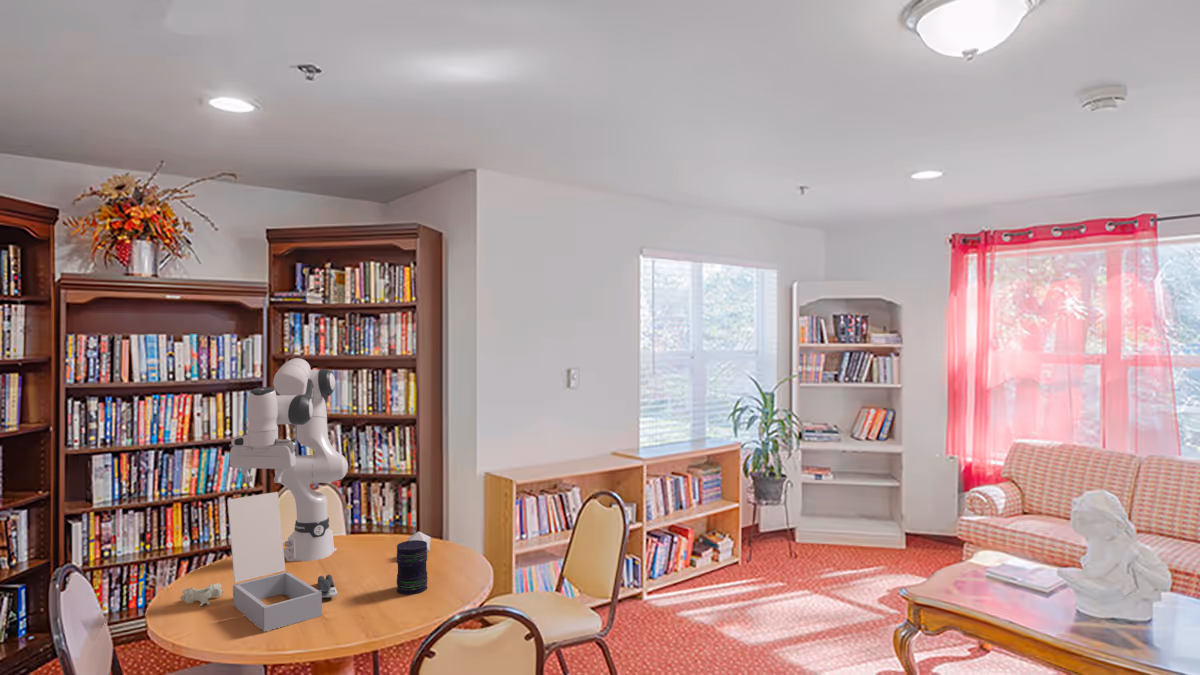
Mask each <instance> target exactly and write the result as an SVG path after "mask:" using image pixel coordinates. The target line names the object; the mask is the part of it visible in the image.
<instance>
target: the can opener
mask: <svg viewBox="0 0 1200 675" xmlns="http://www.w3.org/2000/svg"><path fill="white" fill-rule="evenodd" d="M317 585H318V590H319V591H320V592H322V599H324V598H326V599H327V598H332V597H335V596H338V591H337V588H336V587H335V583H334V579H333V576H332V574H328V575H326V576H323V575H320V576H318V577H317Z"/></svg>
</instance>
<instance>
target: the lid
mask: <svg viewBox="0 0 1200 675" xmlns="http://www.w3.org/2000/svg"><path fill="white" fill-rule="evenodd" d="M279 500H280V499H279V492H278V491H275V492H274V491H273V492H267V493H262V494H256V495H248V496H243V497H242V496H241V497H236V498H230V499H227V500H226V501H227V511H228V524H229V535H230V546H231V548H230V549H231V558H232V560H231V561H232V570H233V572H232V573H233V582H234V583H235V584H237V583H241V582H245V581H247V580H248V581H249V580H253V579H257V578H262V577H266V576H270V575H274V574H278V573H279V572H281V573H282V572H286V563H285V562H286V561H285V557H284V550H283V549H284V540H283V532H282V520H281V509H280V501H279Z"/></svg>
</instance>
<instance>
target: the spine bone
mask: <svg viewBox="0 0 1200 675" xmlns="http://www.w3.org/2000/svg"><path fill="white" fill-rule="evenodd" d="M222 593H224V591H223V589H222V584H221V583H218V582H217V583H214V584H213V583H209V585H208V586H207V587H203V588H199V589H197V588H194V587H189V588H185V589H183V590H182V595H180V597H179V598H180V599H179V600H181V601H184V602H185V603H186V604H190V603H193V602H195V601H199V602H200V604H199V607H200V606H203V605H204V604H206V605H207V606H210V605H211V603H210V601H209V599H212V598H216V597H217V598H218V597H221V596H222Z"/></svg>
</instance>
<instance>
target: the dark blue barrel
mask: <svg viewBox="0 0 1200 675" xmlns="http://www.w3.org/2000/svg"><path fill="white" fill-rule="evenodd" d="M427 561H428V552H427V542H425V541H420V540H412V541H408V540H406V541H402V542H400V543H398V544H396V563H397V575H396V588H397V589H396V592H397V593H398V594H399V595H402V596H403V595H405V596H410V595H411V596H413V595H419V594H421V593H424V592H425V591H427V589H428V571H427Z"/></svg>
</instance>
